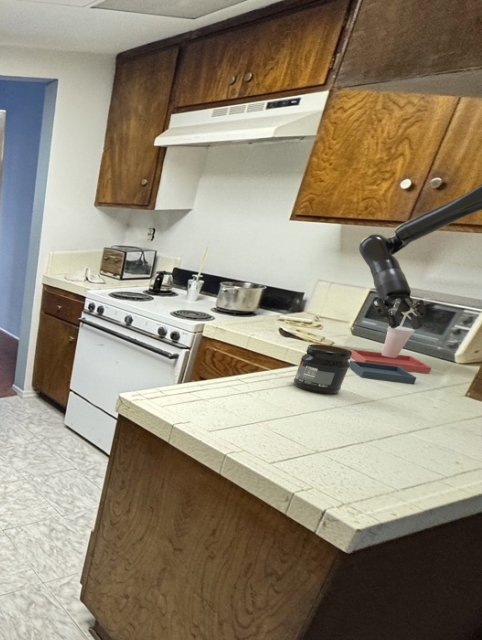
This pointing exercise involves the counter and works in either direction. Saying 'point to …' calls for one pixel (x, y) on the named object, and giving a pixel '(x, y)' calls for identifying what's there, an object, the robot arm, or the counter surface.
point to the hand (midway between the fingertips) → (406, 327)
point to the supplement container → (323, 368)
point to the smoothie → (396, 339)
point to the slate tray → (382, 372)
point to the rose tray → (391, 361)
